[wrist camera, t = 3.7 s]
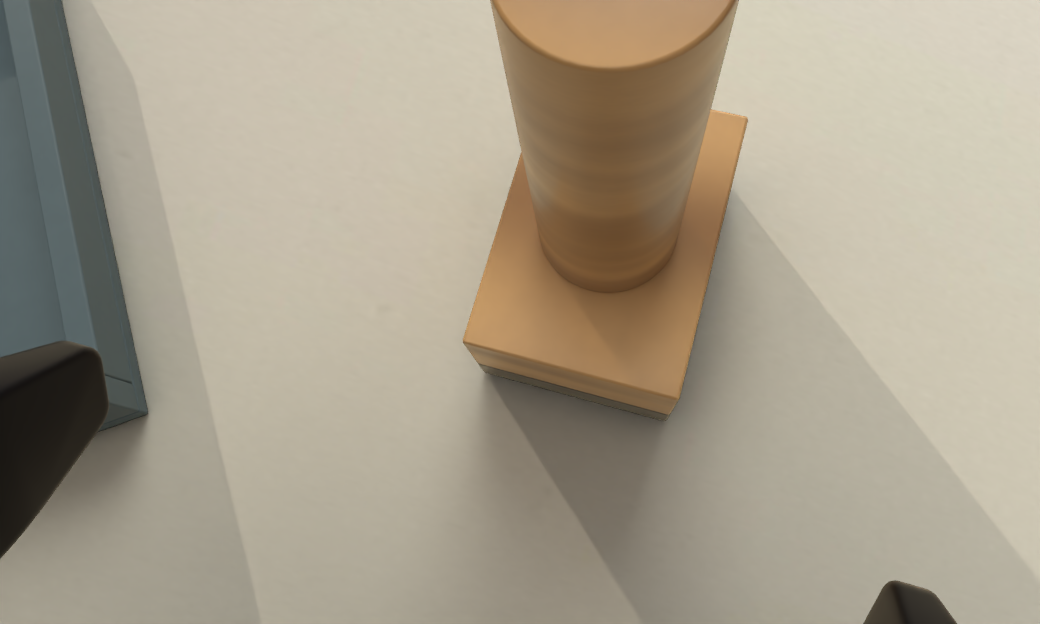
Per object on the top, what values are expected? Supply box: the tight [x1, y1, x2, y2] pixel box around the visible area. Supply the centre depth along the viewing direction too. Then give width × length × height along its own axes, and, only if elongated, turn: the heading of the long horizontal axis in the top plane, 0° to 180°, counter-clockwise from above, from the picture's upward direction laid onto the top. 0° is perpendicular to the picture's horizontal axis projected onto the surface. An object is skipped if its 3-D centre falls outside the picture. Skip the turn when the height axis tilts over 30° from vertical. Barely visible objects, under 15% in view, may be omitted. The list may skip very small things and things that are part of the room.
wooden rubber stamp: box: [463, 0, 748, 421], centre depth 16 cm, size 7×5×13 cm
